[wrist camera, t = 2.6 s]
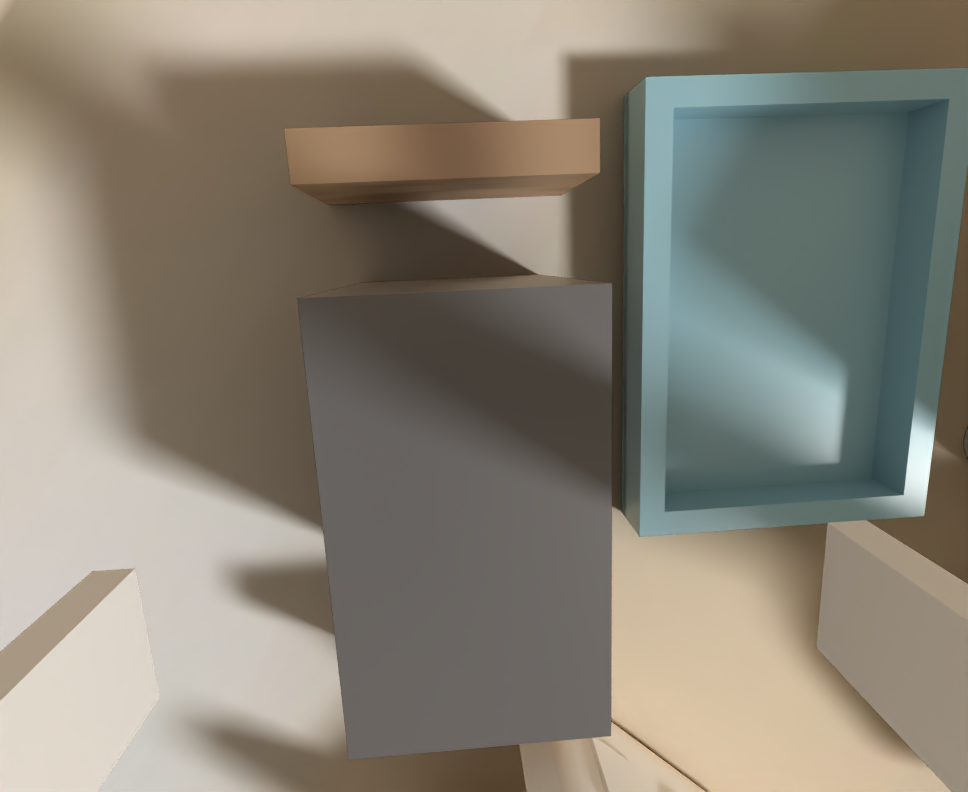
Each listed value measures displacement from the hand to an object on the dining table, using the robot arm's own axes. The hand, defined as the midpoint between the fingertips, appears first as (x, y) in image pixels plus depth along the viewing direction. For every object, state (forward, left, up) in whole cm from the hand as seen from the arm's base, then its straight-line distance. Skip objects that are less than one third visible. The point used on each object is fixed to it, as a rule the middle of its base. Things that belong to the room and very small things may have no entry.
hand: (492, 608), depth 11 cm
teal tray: (+13, +4, -14) cm, 19 cm away
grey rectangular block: (0, 0, -14) cm, 14 cm away
